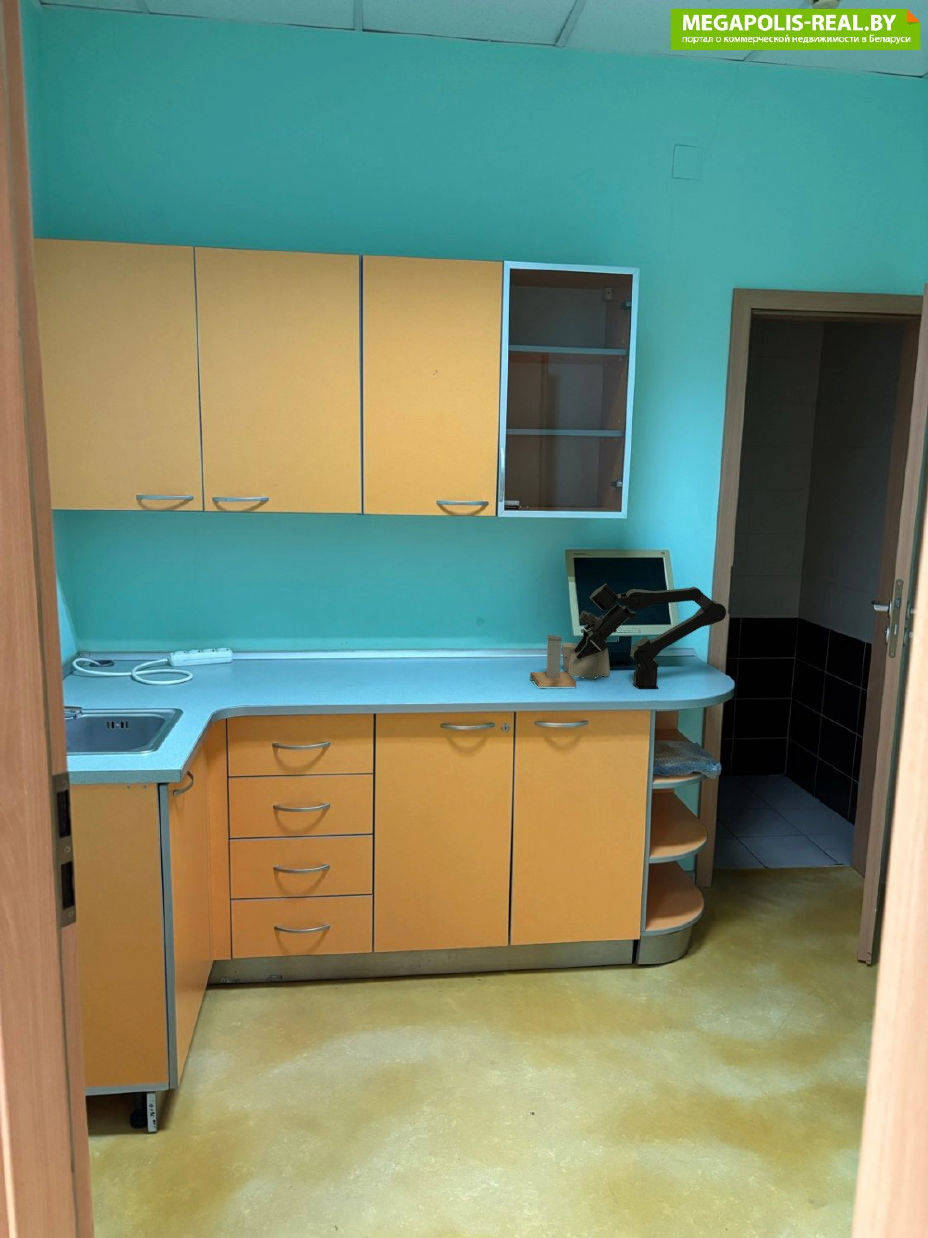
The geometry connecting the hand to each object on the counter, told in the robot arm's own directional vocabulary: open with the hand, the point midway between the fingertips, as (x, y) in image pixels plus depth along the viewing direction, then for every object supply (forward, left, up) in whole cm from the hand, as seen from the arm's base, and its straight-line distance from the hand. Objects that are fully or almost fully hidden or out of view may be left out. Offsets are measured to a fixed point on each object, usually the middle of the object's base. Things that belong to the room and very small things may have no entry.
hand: (576, 654), depth 295 cm
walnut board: (+7, -1, -10) cm, 12 cm away
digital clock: (-7, -12, -10) cm, 17 cm away
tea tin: (+7, -1, -7) cm, 10 cm away
